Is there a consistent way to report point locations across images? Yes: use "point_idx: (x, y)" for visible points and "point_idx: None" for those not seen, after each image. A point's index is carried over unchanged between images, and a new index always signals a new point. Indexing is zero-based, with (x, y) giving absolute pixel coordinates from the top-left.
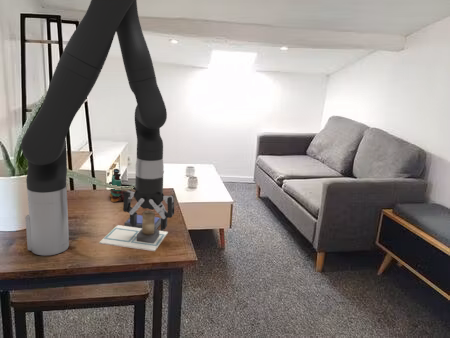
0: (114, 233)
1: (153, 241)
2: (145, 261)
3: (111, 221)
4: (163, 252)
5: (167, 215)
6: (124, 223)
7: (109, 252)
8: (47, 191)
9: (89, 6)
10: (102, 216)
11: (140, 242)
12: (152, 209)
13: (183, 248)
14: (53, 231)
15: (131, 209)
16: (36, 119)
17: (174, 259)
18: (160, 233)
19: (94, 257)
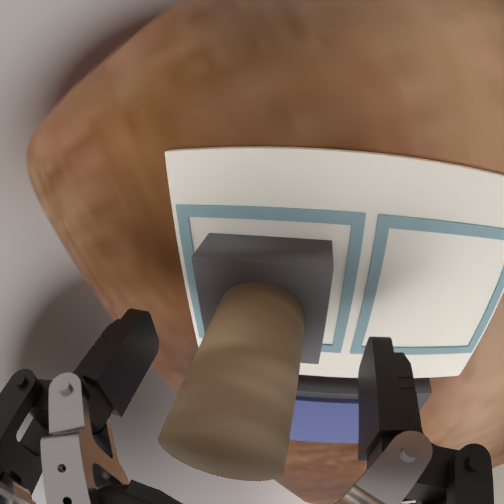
0: (476, 302)
1: (205, 240)
2: (173, 13)
3: (475, 391)
4: (122, 155)
5: (46, 396)
6: (430, 389)
7: (456, 65)
8: None
9: None
10: (497, 405)
11: (299, 227)
12: (136, 483)
13: (72, 229)
14: None
15: (410, 488)
16: None
17: (58, 111)
18: None
19: (497, 7)
